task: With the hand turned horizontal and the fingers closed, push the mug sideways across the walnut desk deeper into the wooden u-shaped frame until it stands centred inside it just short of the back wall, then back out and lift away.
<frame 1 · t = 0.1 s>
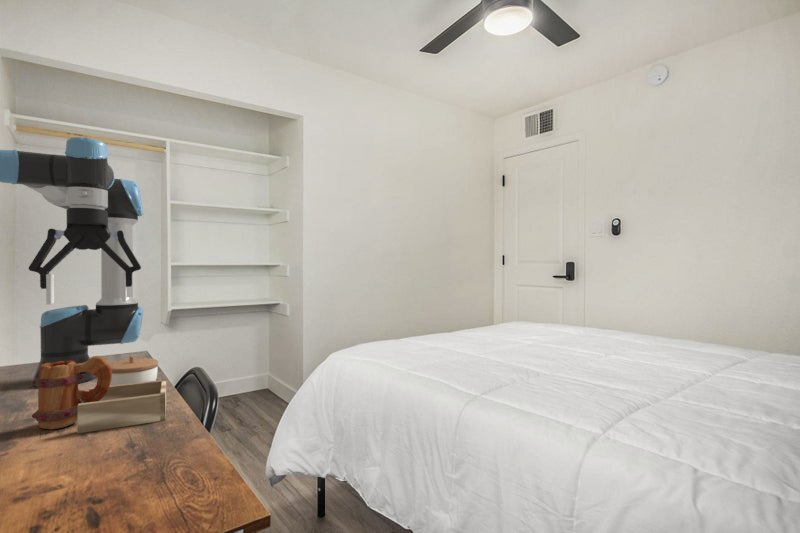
hand: (88, 302, 95), 28 cm above the table, tool pointing down, fingers open, 13 cm apart
wooden u-shaped frame: (125, 416, 101), on the table
lidded bowl: (132, 396, 117), on the table
mug: (73, 424, 96), on the table
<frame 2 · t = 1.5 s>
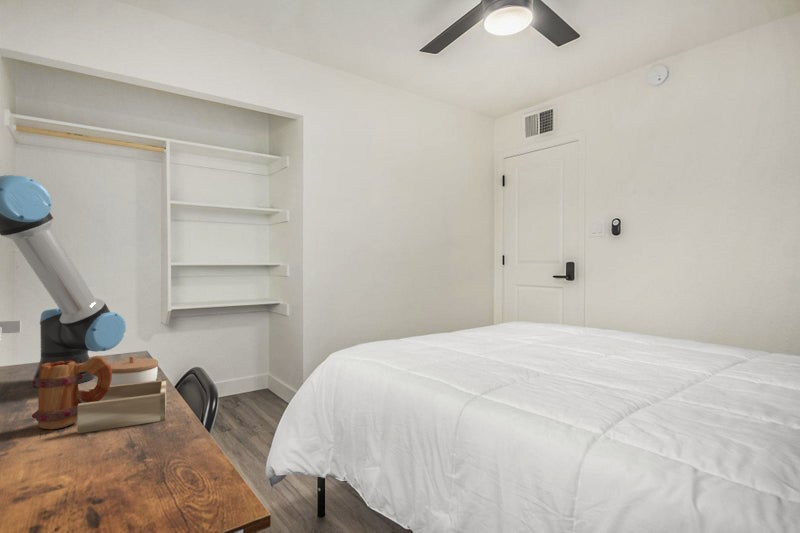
hand: (11, 329, 91), 22 cm above the table, tool horizontal, fingers open, 13 cm apart
nothing on the table moved.
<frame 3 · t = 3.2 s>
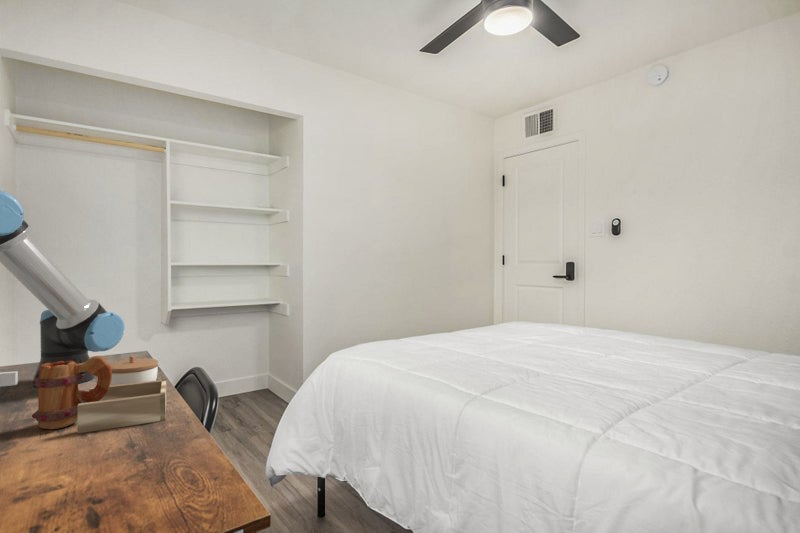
hand: (16, 378, 91), 12 cm above the table, tool horizontal, fingers closed
nothing on the table moved.
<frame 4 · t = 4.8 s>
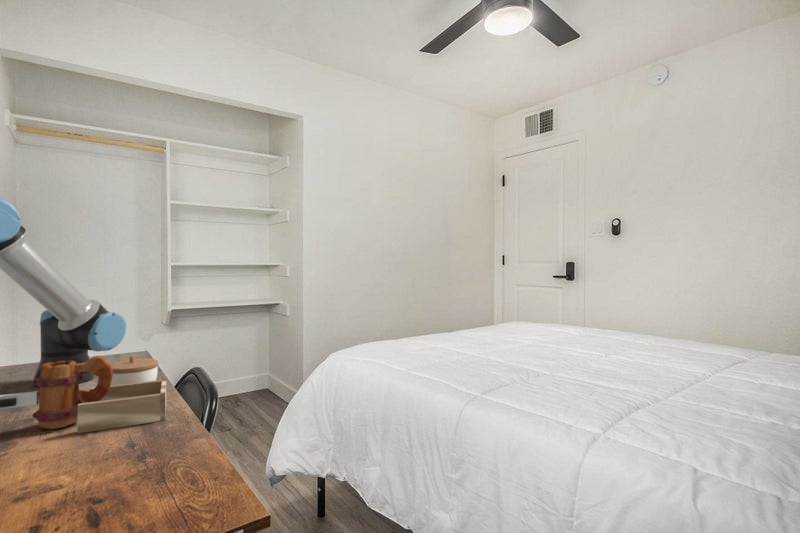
hand: (37, 397, 93), 7 cm above the table, tool horizontal, fingers closed
mug: (73, 424, 96), on the table, touching gripper
everything else where it was.
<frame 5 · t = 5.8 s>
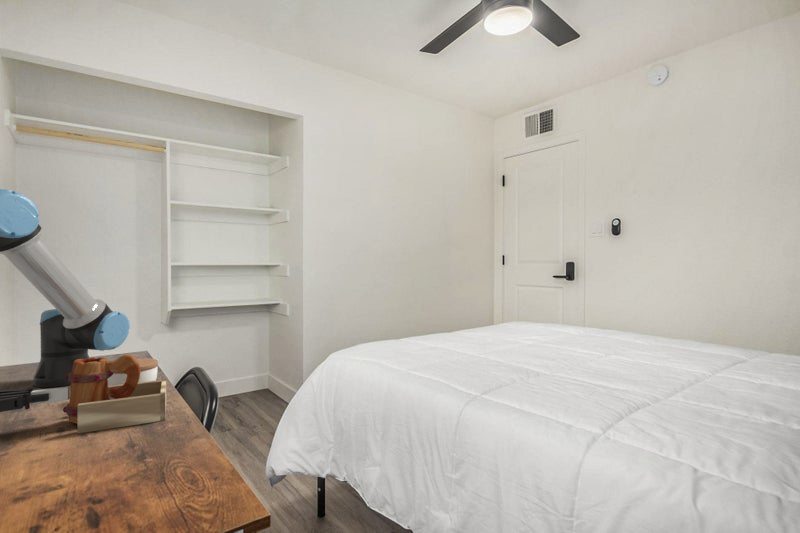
hand: (68, 393, 95), 7 cm above the table, tool horizontal, fingers closed
mug: (101, 420, 99), on the table, touching gripper
everything else where it was.
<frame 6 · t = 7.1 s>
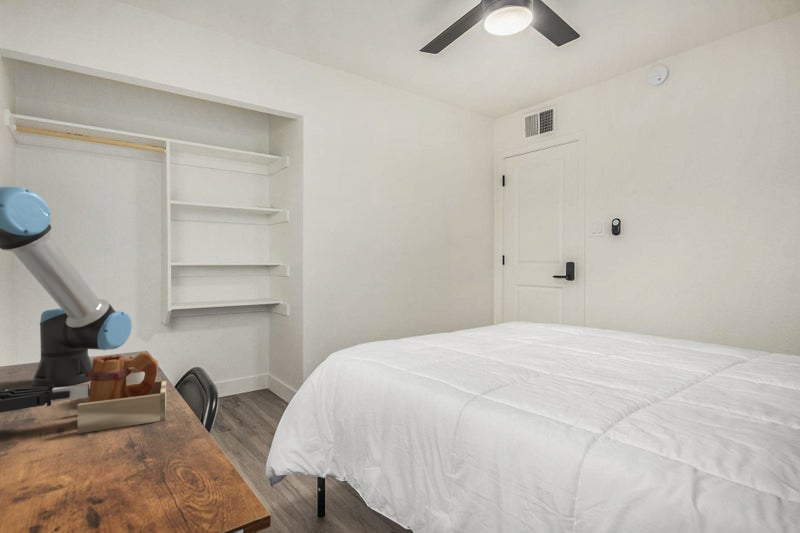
hand: (88, 390, 97), 7 cm above the table, tool horizontal, fingers closed
mug: (119, 417, 101), on the table, touching gripper
everything else where it was.
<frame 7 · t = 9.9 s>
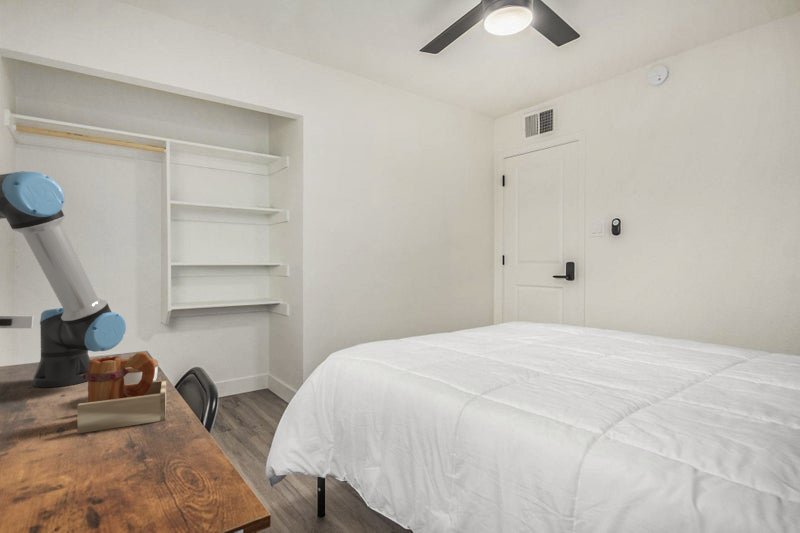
hand: (32, 321, 95), 24 cm above the table, tool horizontal, fingers closed
mug: (119, 417, 101), on the table
everything else where it was.
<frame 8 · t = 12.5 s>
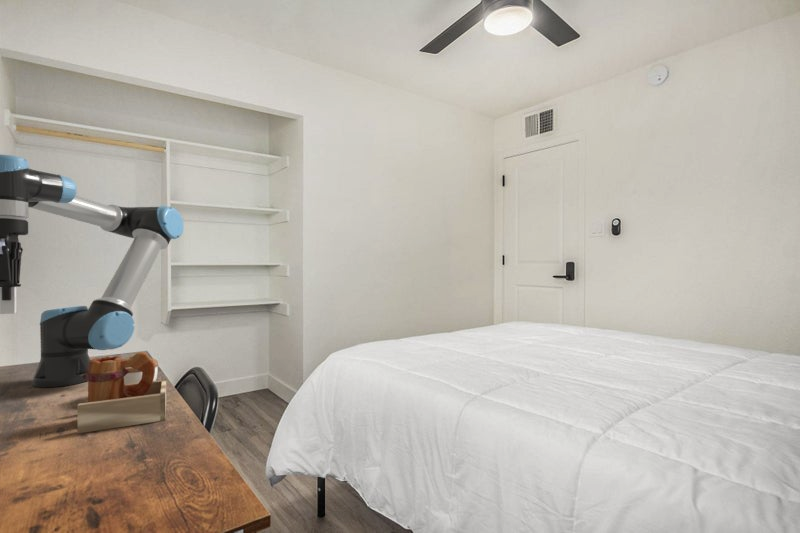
hand: (8, 313, 105), 24 cm above the table, tool pointing down, fingers closed
nothing on the table moved.
at the end: mug inside the target area on the wooden u-shaped frame (0.4 cm from its centre), point 0.0 cm above the wooden u-shaped frame's base; mug tilted 0°; mug moved 8.9 cm from its start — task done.
